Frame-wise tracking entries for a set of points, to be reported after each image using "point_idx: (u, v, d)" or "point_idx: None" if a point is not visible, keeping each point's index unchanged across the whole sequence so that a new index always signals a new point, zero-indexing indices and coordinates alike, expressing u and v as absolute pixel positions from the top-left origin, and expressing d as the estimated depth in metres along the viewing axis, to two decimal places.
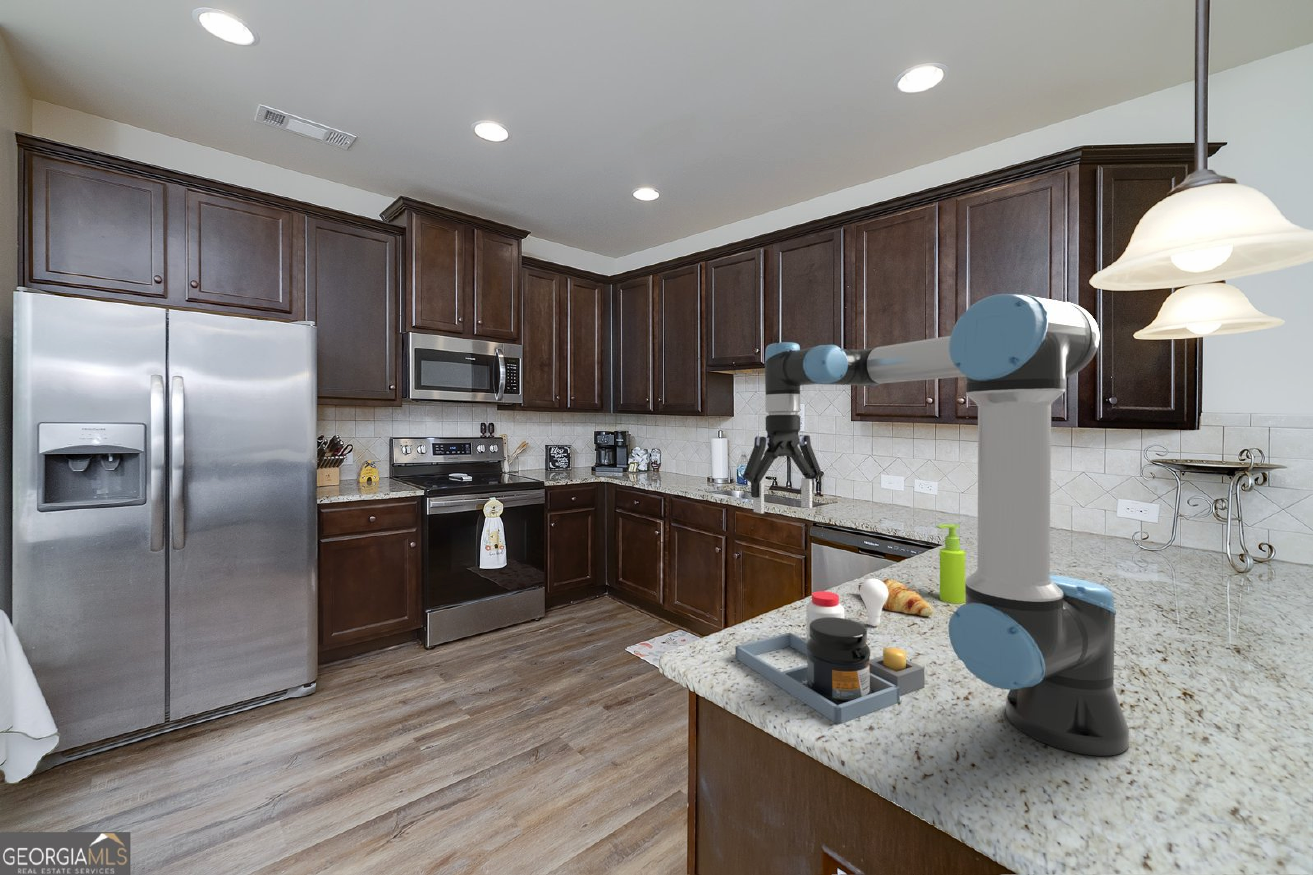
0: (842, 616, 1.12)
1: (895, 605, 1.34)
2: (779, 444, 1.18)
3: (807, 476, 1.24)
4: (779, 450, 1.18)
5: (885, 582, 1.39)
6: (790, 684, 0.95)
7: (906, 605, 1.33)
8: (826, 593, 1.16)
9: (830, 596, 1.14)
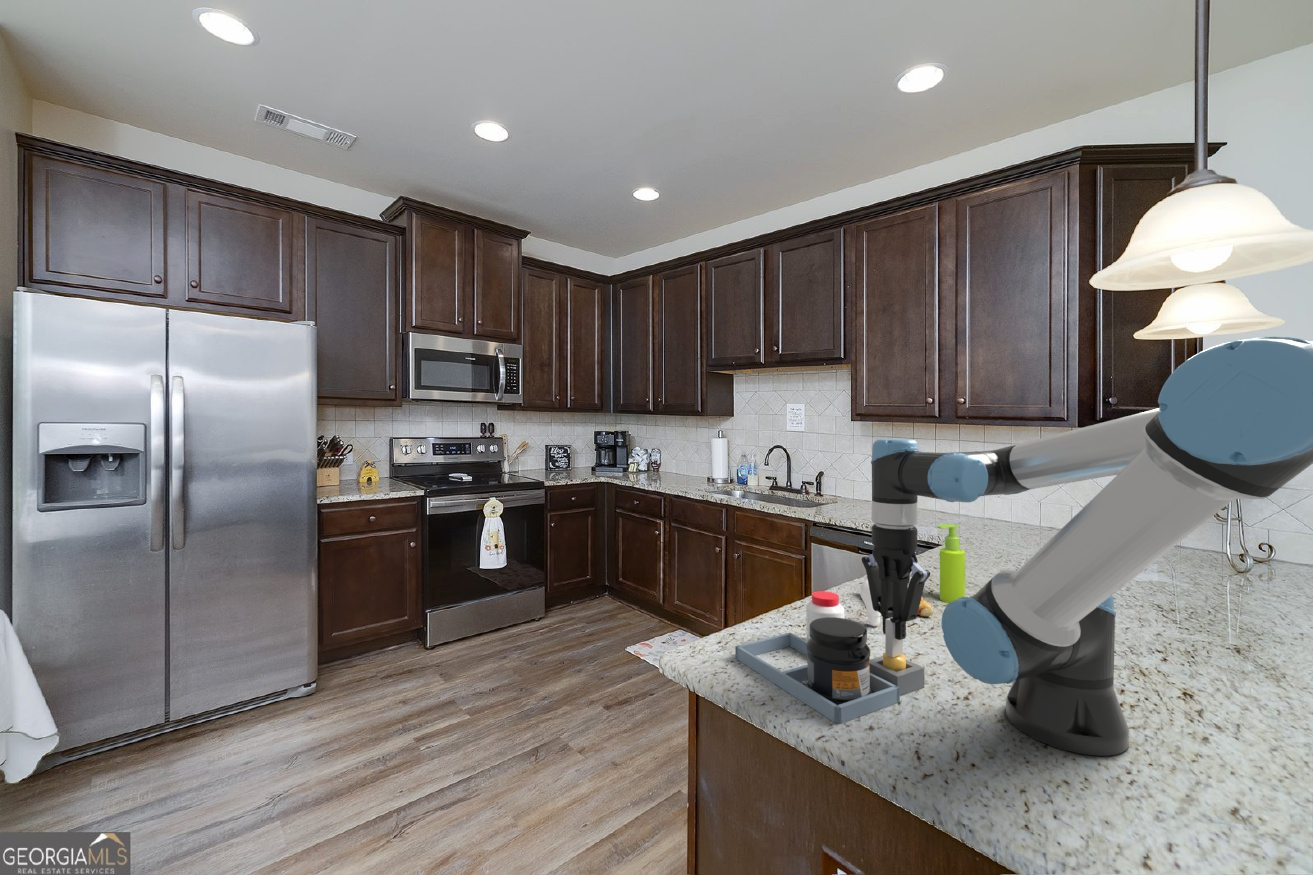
0: (842, 616, 1.12)
1: None
2: None
3: None
4: (882, 570, 0.98)
5: None
6: (790, 684, 0.95)
7: None
8: (826, 593, 1.16)
9: (830, 596, 1.14)
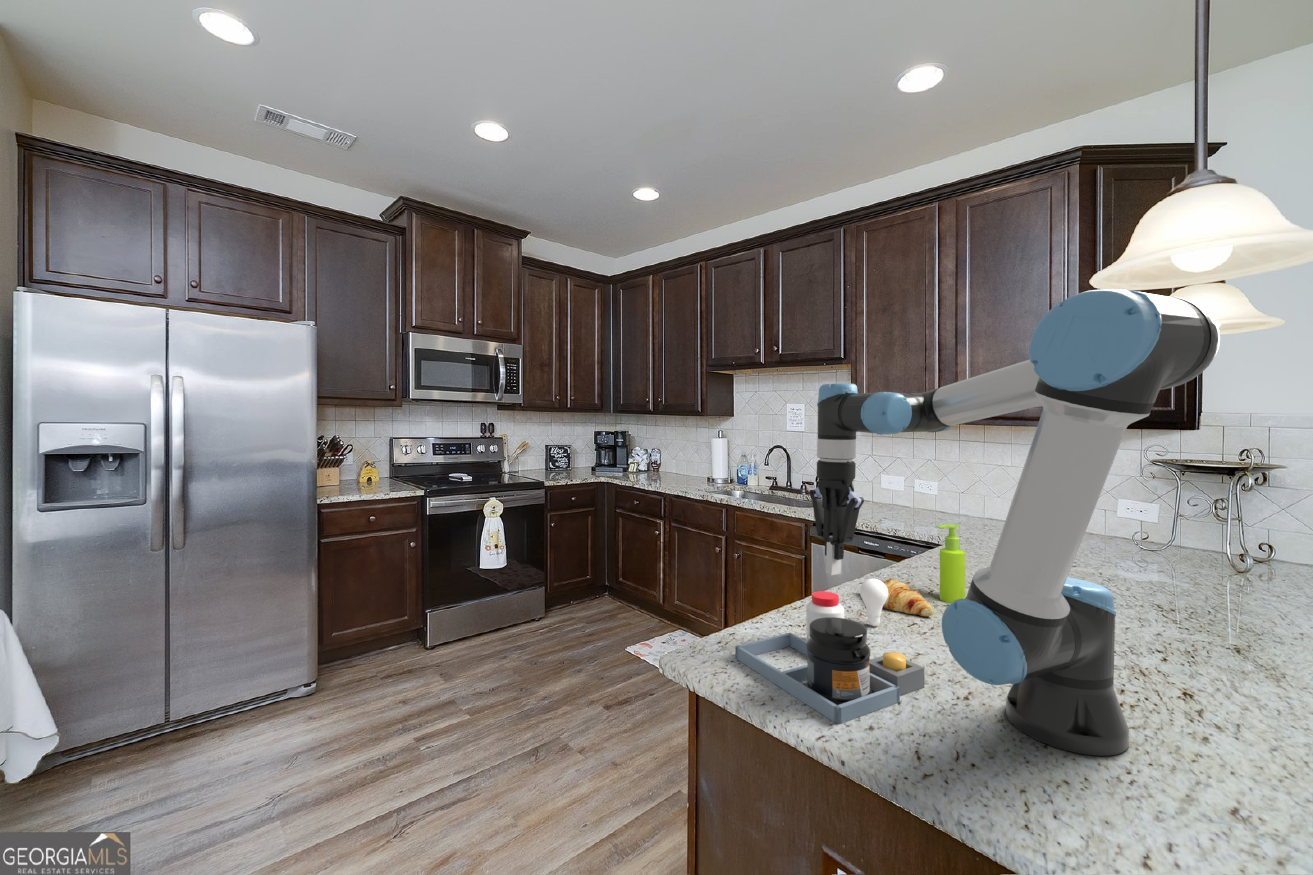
0: (842, 616, 1.12)
1: (896, 605, 1.34)
2: None
3: None
4: (824, 499, 1.12)
5: (887, 582, 1.40)
6: (790, 684, 0.95)
7: (906, 605, 1.33)
8: (826, 593, 1.16)
9: (830, 596, 1.14)
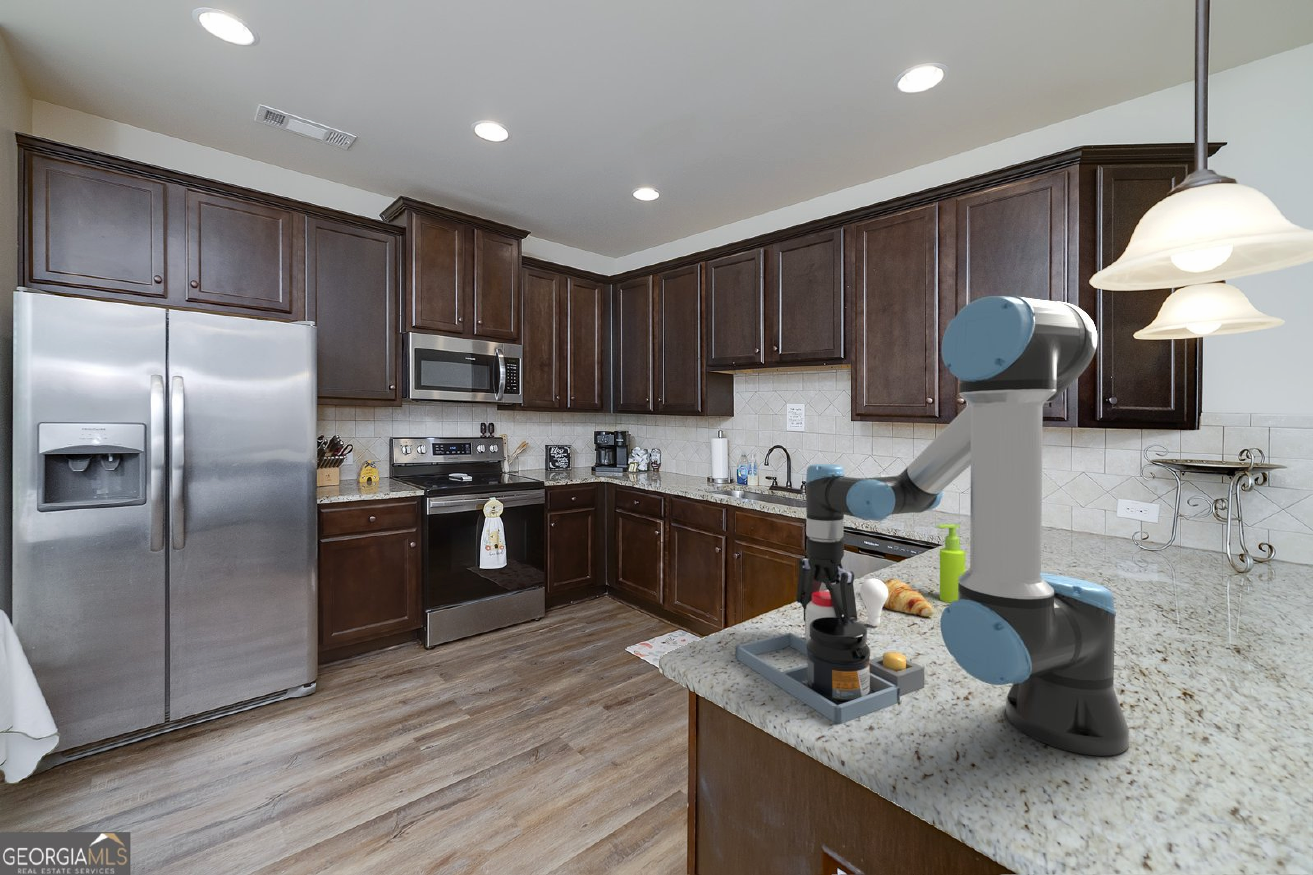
0: (842, 616, 1.12)
1: (897, 605, 1.35)
2: None
3: None
4: (812, 575, 1.15)
5: (888, 582, 1.40)
6: (790, 684, 0.95)
7: (907, 605, 1.33)
8: (826, 593, 1.16)
9: (830, 596, 1.14)
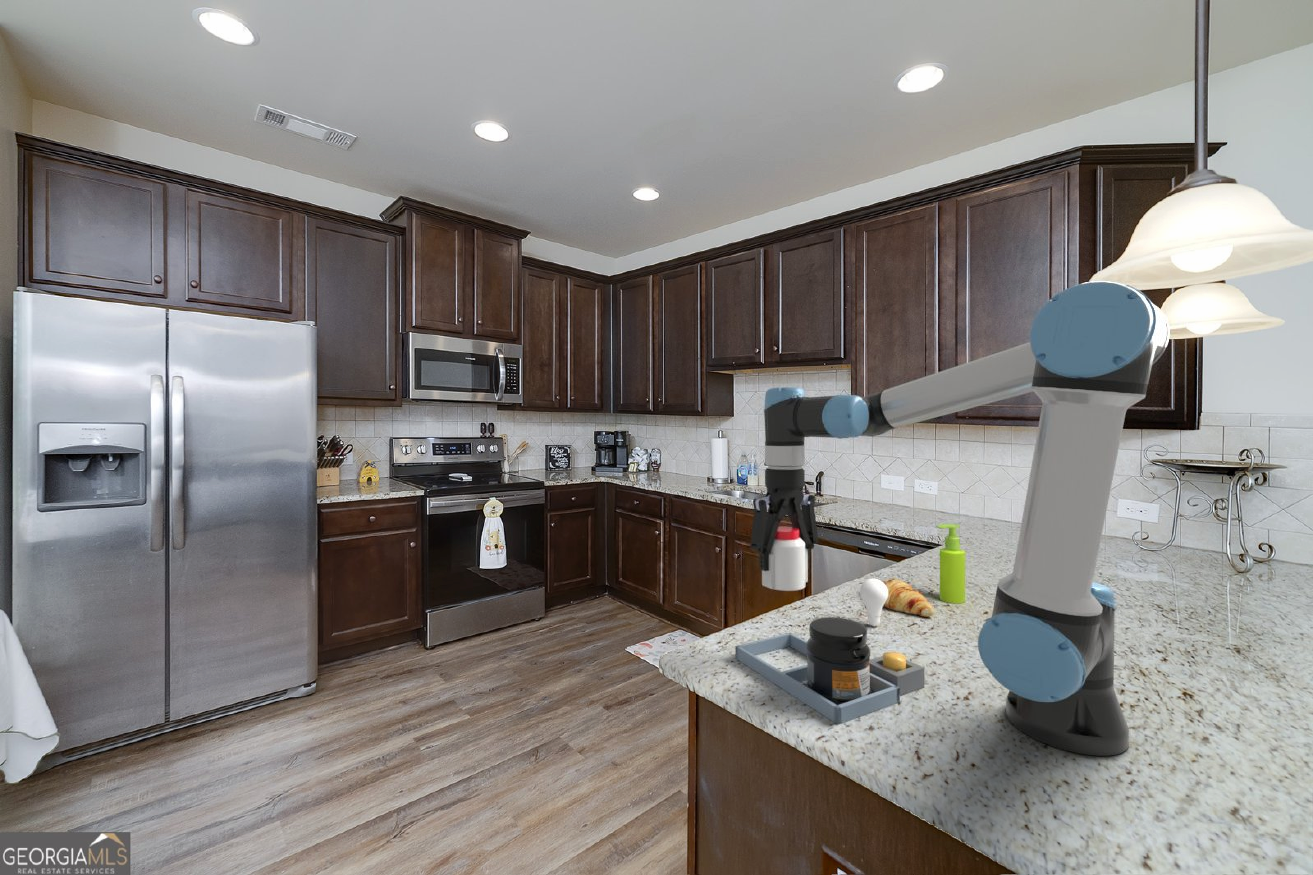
0: None
1: (897, 604, 1.35)
2: (781, 504, 1.04)
3: None
4: (782, 511, 1.04)
5: (889, 581, 1.40)
6: (790, 684, 0.95)
7: (907, 605, 1.33)
8: (779, 528, 1.07)
9: (789, 528, 1.07)
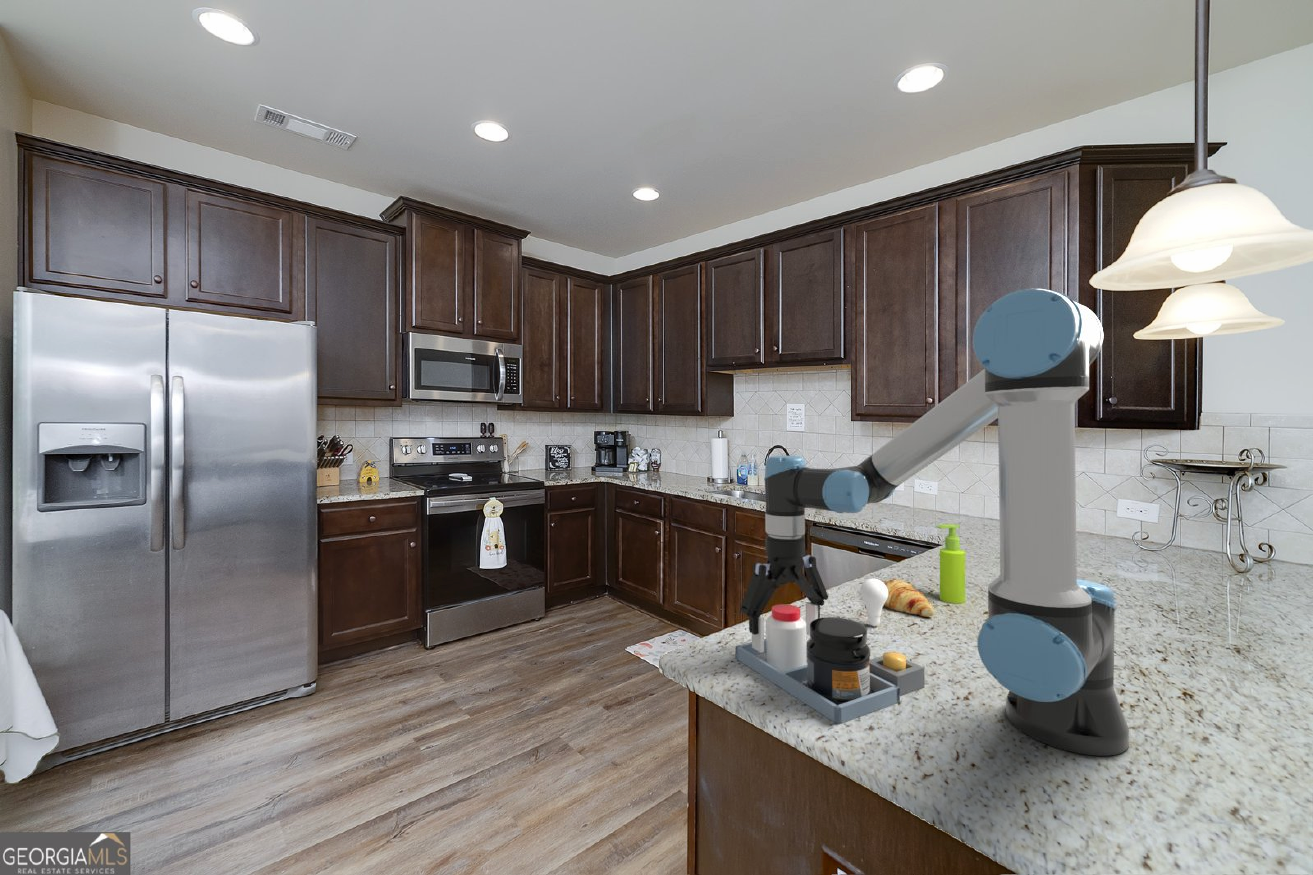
0: None
1: (897, 604, 1.35)
2: (781, 572, 1.04)
3: (812, 601, 1.10)
4: (781, 579, 1.04)
5: (891, 581, 1.40)
6: (790, 684, 0.95)
7: (907, 605, 1.33)
8: (780, 607, 1.07)
9: (790, 607, 1.07)
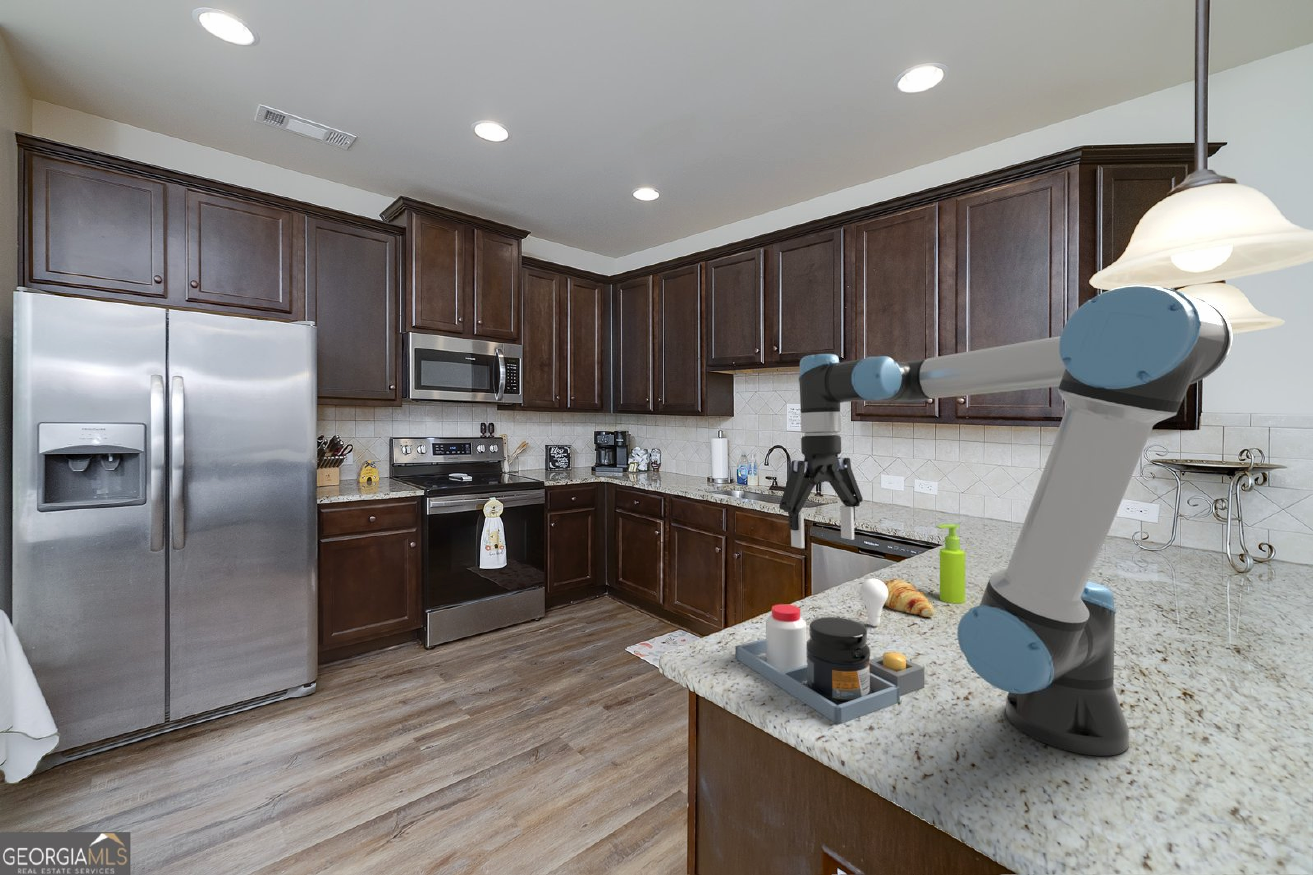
0: None
1: (898, 604, 1.35)
2: (819, 469, 1.04)
3: (847, 503, 1.10)
4: (819, 475, 1.04)
5: (891, 581, 1.40)
6: (790, 684, 0.95)
7: (907, 605, 1.33)
8: (780, 607, 1.07)
9: (790, 607, 1.07)
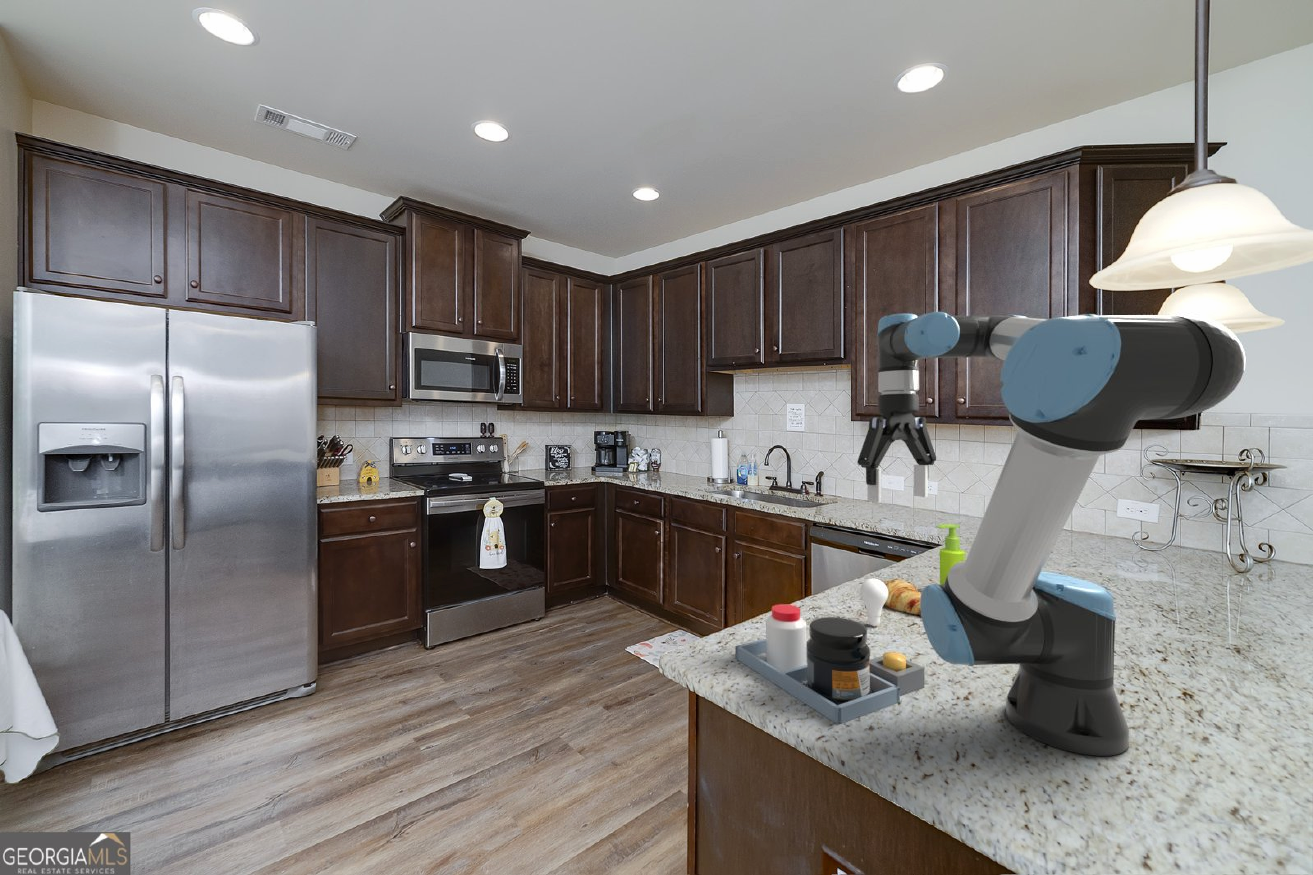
0: None
1: (898, 604, 1.35)
2: (896, 426, 1.07)
3: (921, 462, 1.13)
4: (897, 433, 1.07)
5: (892, 581, 1.40)
6: (790, 684, 0.95)
7: (908, 605, 1.33)
8: (780, 607, 1.07)
9: (790, 607, 1.07)
